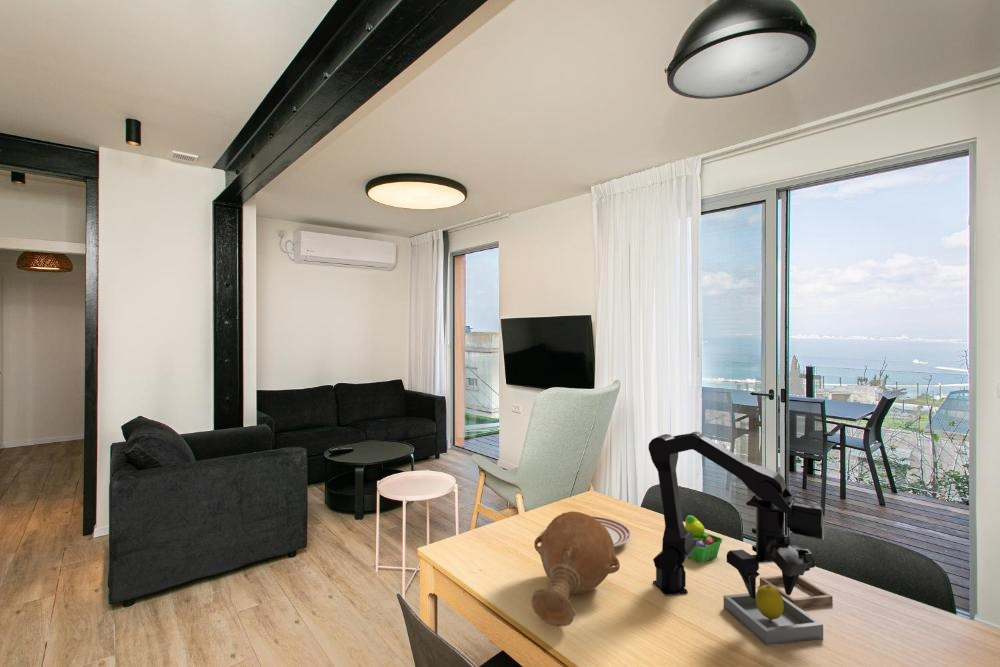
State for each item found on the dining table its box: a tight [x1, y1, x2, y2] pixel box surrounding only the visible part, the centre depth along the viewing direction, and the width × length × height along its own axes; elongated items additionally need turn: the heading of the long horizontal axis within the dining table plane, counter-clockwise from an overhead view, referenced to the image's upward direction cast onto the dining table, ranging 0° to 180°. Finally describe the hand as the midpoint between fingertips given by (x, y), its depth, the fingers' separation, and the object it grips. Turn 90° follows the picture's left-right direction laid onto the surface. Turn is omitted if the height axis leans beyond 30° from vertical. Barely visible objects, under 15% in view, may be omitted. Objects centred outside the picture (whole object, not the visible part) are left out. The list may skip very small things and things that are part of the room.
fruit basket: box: [684, 514, 723, 564], centre depth 140 cm, size 11×9×11 cm
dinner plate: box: [545, 515, 633, 549], centre depth 152 cm, size 27×27×3 cm
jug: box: [530, 510, 621, 627], centre depth 117 cm, size 20×19×30 cm
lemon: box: [756, 585, 784, 620], centre depth 106 cm, size 6×6×8 cm
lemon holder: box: [759, 575, 834, 609], centre depth 118 cm, size 11×11×2 cm
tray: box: [723, 591, 824, 646], centre depth 106 cm, size 14×14×3 cm
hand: (770, 596), depth 106 cm, fingers open, 9 cm apart
